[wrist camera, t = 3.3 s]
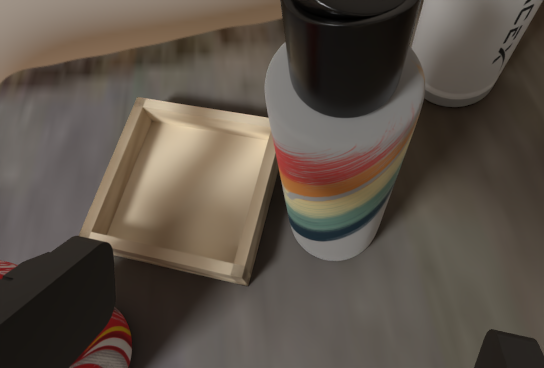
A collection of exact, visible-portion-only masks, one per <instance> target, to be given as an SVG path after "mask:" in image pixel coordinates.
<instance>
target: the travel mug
mask: <svg viewBox="0 0 544 368" xmlns="http://www.w3.org/2000/svg"><path fill="white" fill-rule="evenodd" d="M542 1H543V0H424V3H423V7H422V10H421V14H420V18H419V22H418V25H417V29H416V33H415V37H414V40H413V44H412V50H413V51H414V52H415V54H416V55H417V57H418V59H419V61H420V63H421V65H422V68H423V72H424V77H425V95H424V99H426V100H428V101H430V102H432V103H435V104H437V105H441V106H446V107H461V106H467V105H470V104H474V103H476V102H478V101H480V100H481V99H483V98H484V97H485V96H486V95H487V94H488V93H489V92H490V91H491V89H492V88H493V86H494V84H495V82H496V81H497V79H498V77H499V75H500V74H501V72H502V70H503V69H504V67H505V65H506V63H507V62H508V60H509V58H510V57H511V55H512V53H513V51H514V50H515V48H516V46H517V44H518V43H519V41H520V39H521V37H522V36H523V34H524V32H525V31H526V29H527V27H528V25H529V24H530V22H531V20H532V18H533V17H534V15H535V13H536V12H537V10H538V8H539V6H540V5H541V3H542Z"/></svg>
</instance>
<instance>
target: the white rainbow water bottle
mask: <svg viewBox="0 0 544 368" xmlns="http://www.w3.org/2000/svg"><path fill="white" fill-rule="evenodd" d="M280 1H281V9H282V17H283V26H284V34H285V43H284V44H283V45H282V46H281V47H280V49H279V50H278V51H277V52H276V54H275V55H274V57H273V59H272V60H271V62H270V65H269V67H268V70H267V74H266V80H265V99H266V105H267V111H268V117H269V122H270V127H271V132H272V137H273V142H274V147H275V152H276V157H277V162H278V167H279V172H280V177H281V182H282V187H283V192H284V197H285V201H286V206H287V211H288V216H289V221H290V225H291V228H292V231H293V234H294V236H295V238H296V239H297V241H298V243H299V244H300V245H301V246H302V247H303V248H304V249H305V250H306V251H307V252H309V253H310V254H312V255H314V256H316V257H318V258H321V259H324V260H329V261H341V260H346V259H349V258H352V257H354V256H356V255H358V254H360V253H361V252H362V251H364V250H365V249H366V248H367V247H368V246H369V244H370V243H371V242H372V240H373V238H374V237H375V235H376V232H377V230H378V228H379V225H380V222H381V220H382V217H383V214H384V211H385V209H386V206H387V203H388V200H389V198H390V195H391V192H392V189H393V187H394V184H395V181H396V178H397V176H398V173H399V170H400V168H401V165H402V162H403V159H404V157H405V154H406V151H407V148H408V146H409V143H410V140H411V137H412V135H413V132H414V129H415V126H416V123H417V120H418V117H419V114H420V111H421V108H422V104H423V101H424V95H425V77H424V72H423V68H422V65H421V63H420V61H419V59H418V57H417V55H416V54H415V52H414V51H413V50H412V48H411V47H410V46H409V44H410V41H411V37H412V33H413V29H414V26H415V22H416V18H417V14H418V11H419V7H420V3H421V0H280Z"/></svg>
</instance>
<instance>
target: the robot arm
mask: <svg viewBox="0 0 544 368" xmlns="http://www.w3.org/2000/svg"><path fill="white" fill-rule="evenodd" d="M114 307H115V278H114V257H113V249H112V246H111V245H110V243H108V242H104V241H99V240H95V239H90V238H86V237H81V236H74V237H72V238H70V239H69V240H67V241H66V242H64V243H63V244H62V245H60V246H59V247H57V248H56V249H55V250H53V251H52V252H47V253H45V254H42V255H40V256H37V257H34V258H32V259H29V260H27V261H24V262H22V263H21V264H19V265H18V266H16V267H15V268H14V269H12V270H11V271H9V272H8V273H6V274H5V275H3V278H2V279H0V368H69V367H70V366H71V365H72V364H73V363H74V362H75V361H76V359H77V358H78V357H79V356H80V355H81V354H82V353H83V352H84V350H85V349H86V348H87V347H88V346H89V345H90V344H91V343H92V342H93V340H94V339H95V338H96V337H97V336H98V335H99V334H100V333H101V332H102V330H103V329H104V328H105V327H106V326H107V324H108V323H109V321H110V319H111V317H112V314H113V311H114ZM474 368H544V355H543V353H542V351H541V349H540V346H539V344H538V342H537V341H536V340H535V339H533V338H529V337H524V336H520V335H515V334H511V333H506V332H502V331H497V330H493V329H491V330H489V331H488V332H487V334H486V336H485V338H484V341H483V344H482V347H481V349H480V352H479V355H478V358H477V361H476V364H475V367H474Z"/></svg>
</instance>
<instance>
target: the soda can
mask: <svg viewBox="0 0 544 368" xmlns="http://www.w3.org/2000/svg"><path fill="white" fill-rule="evenodd" d="M16 266H18V265H16V264H13V263H9V262H6V261H0V279H2V278H3V275H5V274H6V273H8V272H9V271H11V270H12V269H14V268H15V267H16ZM131 354H132V339H131V333H130V329H129V326H128V324H127V322H126V320H125V318H124V316H123V315H122V314H121V312H120V311H119V310H118V309H117V308H116V307H114V311H113V314H112V317H111V319H110V321H109V323H108V324H107V326H106V327H105V328H104V329H103V330H102V332H101V333H100V334H99V335H98V336H97V337H96V338H95V339H94V340H93V342H92V343H91V344H90V345H89V346H88V347H87V348H86V349H85V350H84V352H83V353H82V354H81V355H80V356H79V357H78V358H77V359H76V361H75V362H74V363H73V364H72V365H71V366H70V367H69V368H128V367H129V364H130V360H131Z"/></svg>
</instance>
